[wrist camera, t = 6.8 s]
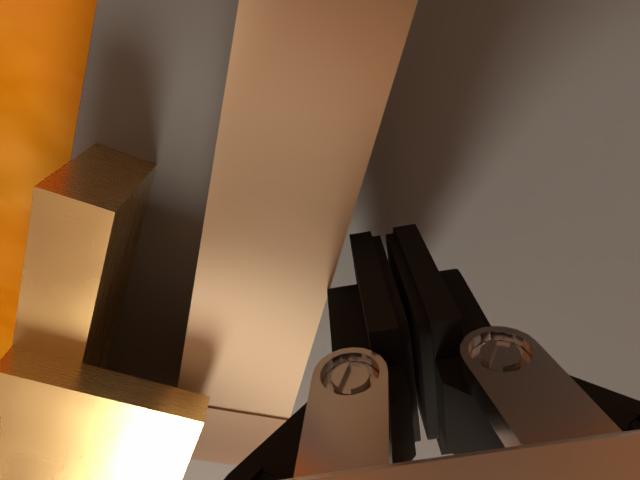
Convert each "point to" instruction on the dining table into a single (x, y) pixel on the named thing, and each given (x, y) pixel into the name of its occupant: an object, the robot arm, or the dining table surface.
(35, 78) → the dining table surface
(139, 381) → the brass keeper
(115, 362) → the charcoal board
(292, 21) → the beech link
